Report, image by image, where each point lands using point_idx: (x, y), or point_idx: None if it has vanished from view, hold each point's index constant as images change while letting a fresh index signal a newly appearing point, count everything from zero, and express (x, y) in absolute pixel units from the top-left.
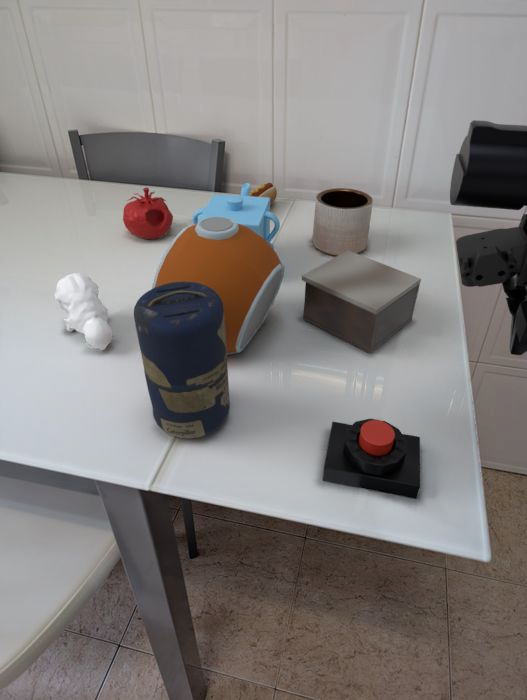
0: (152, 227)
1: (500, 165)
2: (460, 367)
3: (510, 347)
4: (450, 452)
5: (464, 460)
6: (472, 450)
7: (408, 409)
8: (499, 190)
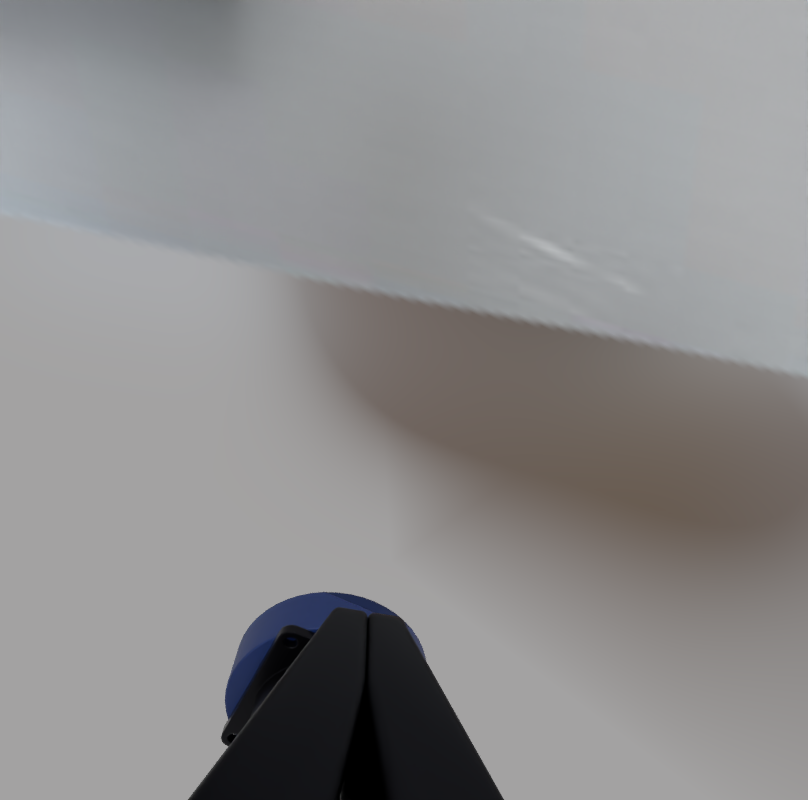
0: None
1: None
2: (790, 358)
3: (371, 632)
4: (243, 165)
5: (206, 216)
6: (267, 266)
7: (513, 11)
8: None
